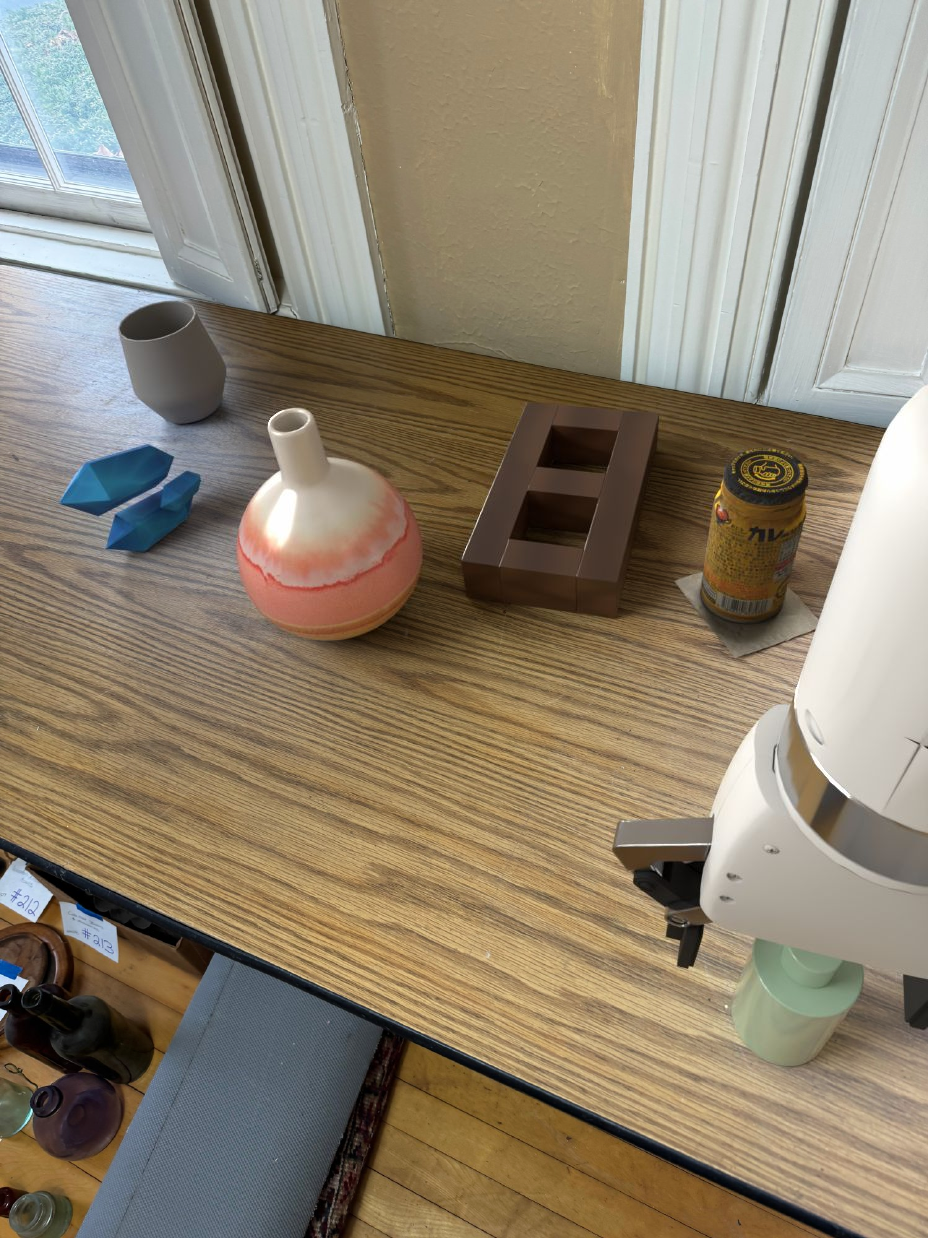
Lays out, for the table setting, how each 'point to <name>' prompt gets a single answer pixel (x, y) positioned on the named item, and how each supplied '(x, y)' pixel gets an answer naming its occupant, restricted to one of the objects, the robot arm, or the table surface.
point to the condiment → (753, 554)
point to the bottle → (792, 1001)
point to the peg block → (564, 510)
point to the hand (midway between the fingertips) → (796, 964)
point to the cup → (173, 361)
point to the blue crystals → (133, 495)
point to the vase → (326, 540)
